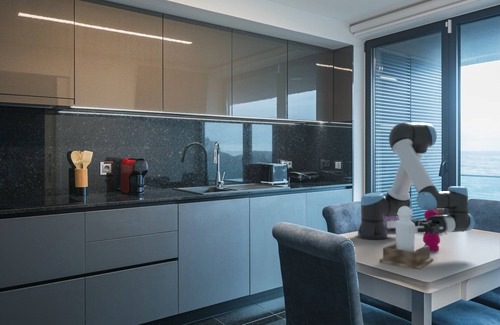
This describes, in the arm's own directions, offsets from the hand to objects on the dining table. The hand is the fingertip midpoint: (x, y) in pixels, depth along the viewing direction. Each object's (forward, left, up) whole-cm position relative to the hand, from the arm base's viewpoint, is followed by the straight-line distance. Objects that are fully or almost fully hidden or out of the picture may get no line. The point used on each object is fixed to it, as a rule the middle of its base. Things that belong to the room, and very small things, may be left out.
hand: (398, 227), depth 160 cm
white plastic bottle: (+2, +3, -14) cm, 14 cm away
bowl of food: (-30, +71, -15) cm, 79 cm away
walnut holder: (+2, +4, -15) cm, 15 cm away
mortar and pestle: (-9, +79, -15) cm, 81 cm away
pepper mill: (+3, +32, -15) cm, 36 cm away
